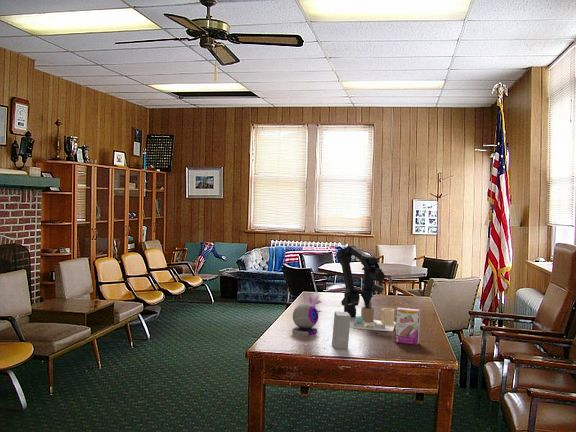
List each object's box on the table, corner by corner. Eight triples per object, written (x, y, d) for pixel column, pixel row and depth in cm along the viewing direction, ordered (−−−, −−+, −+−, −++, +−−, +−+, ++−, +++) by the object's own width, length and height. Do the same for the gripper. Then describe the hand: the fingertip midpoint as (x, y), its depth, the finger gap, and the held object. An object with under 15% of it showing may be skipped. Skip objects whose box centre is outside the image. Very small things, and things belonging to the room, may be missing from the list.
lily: (325, 312, 359) (321, 297, 363) (321, 307, 349) (318, 292, 353) (306, 317, 361) (302, 302, 365) (302, 313, 350) (298, 297, 354)
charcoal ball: (363, 308, 327) (364, 301, 327) (364, 307, 331) (365, 300, 331) (371, 309, 326) (371, 301, 326) (371, 307, 330) (372, 300, 330)
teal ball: (355, 324, 314) (355, 316, 314) (356, 322, 318) (356, 315, 318) (362, 324, 313) (362, 317, 313) (363, 323, 317) (363, 315, 317)
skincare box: (331, 344, 278) (332, 310, 277) (346, 344, 278) (347, 311, 278) (334, 349, 269) (335, 314, 269) (349, 349, 270) (351, 314, 269)
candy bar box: (394, 342, 284) (395, 309, 284) (396, 340, 289) (397, 307, 288) (418, 345, 281) (419, 311, 280) (419, 343, 285) (420, 309, 285)
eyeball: (309, 337, 291) (310, 306, 290) (287, 333, 298) (288, 303, 297) (322, 332, 302) (322, 303, 301) (300, 328, 309) (301, 300, 308)
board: (352, 328, 313) (353, 313, 313) (358, 319, 334) (359, 305, 334) (392, 331, 308) (393, 316, 308) (396, 323, 329) (396, 308, 329)
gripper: (381, 282, 317) (380, 311, 318) (385, 277, 335) (384, 305, 336) (361, 280, 320) (360, 309, 321) (365, 276, 338) (364, 303, 339)
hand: (367, 306), depth 329 cm, fingers open, 4 cm apart
